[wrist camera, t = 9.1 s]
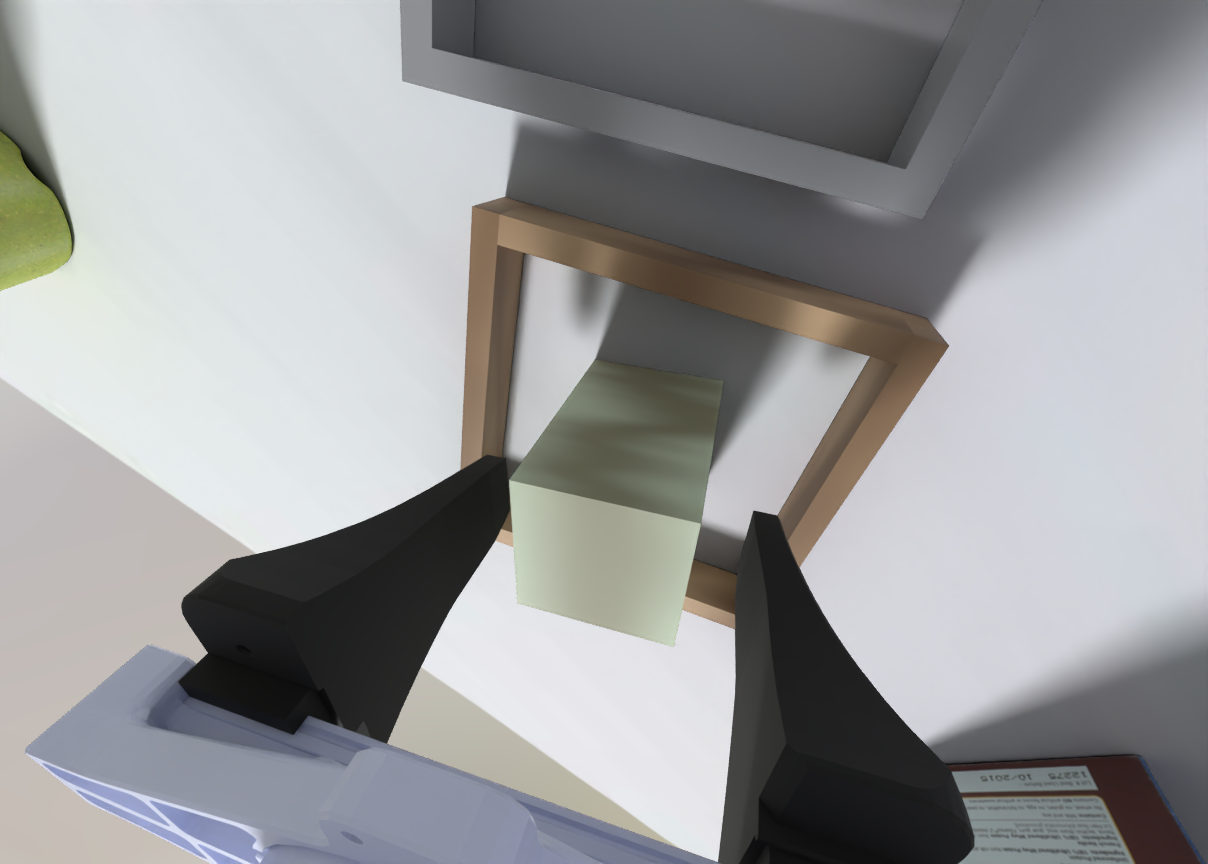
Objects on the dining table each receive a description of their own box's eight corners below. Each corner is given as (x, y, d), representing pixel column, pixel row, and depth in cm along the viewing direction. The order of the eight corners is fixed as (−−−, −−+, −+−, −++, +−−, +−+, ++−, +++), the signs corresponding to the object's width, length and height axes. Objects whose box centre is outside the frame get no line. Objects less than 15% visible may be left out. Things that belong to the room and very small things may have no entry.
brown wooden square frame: (927, 318, 13) (949, 345, 12) (753, 595, 21) (752, 635, 19) (504, 196, 15) (472, 206, 13) (480, 496, 22) (458, 526, 20)
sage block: (723, 380, 16) (701, 523, 10) (702, 484, 18) (673, 647, 13) (595, 359, 17) (508, 479, 11) (590, 461, 19) (517, 603, 14)
